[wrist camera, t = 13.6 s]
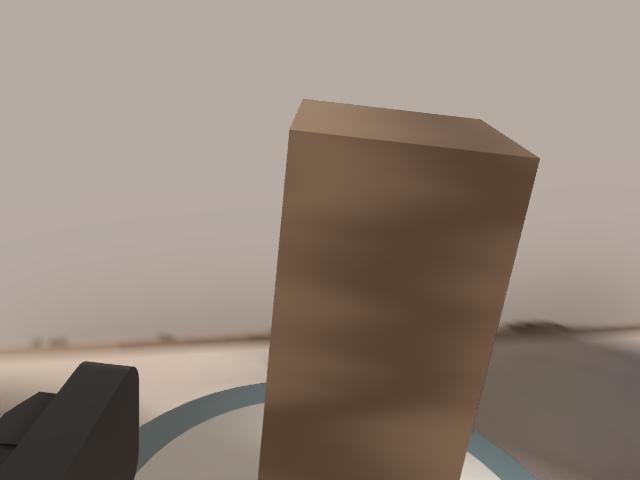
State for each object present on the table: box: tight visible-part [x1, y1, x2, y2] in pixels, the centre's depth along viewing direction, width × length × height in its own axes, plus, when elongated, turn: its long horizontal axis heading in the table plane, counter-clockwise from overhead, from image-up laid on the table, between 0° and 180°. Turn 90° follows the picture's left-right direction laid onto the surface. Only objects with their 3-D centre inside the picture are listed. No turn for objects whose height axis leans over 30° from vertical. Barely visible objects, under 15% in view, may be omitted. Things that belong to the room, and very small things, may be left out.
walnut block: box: [258, 99, 540, 480], centre depth 14 cm, size 4×4×12 cm
